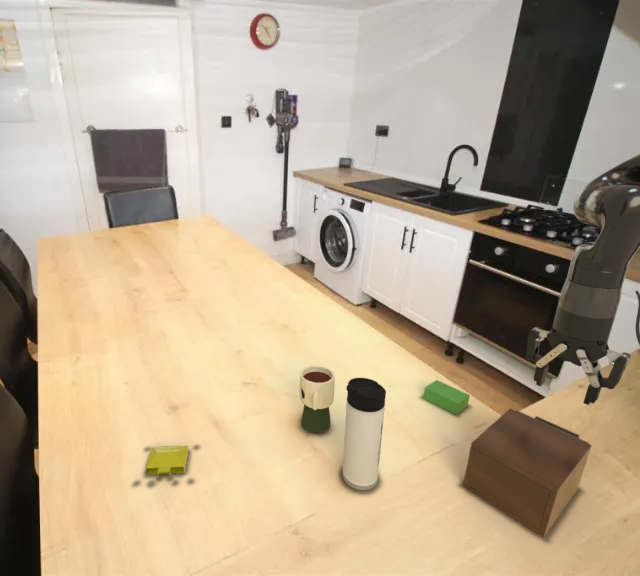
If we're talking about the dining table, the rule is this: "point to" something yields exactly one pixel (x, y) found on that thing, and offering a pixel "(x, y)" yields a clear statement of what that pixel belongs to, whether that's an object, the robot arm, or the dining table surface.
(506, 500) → the cabinet
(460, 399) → the green block
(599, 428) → the dining table surface
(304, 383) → the character mug
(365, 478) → the travel mug
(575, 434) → the drawer
